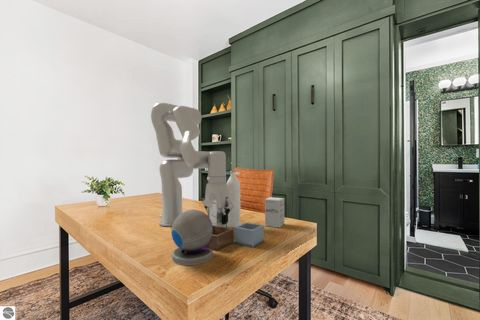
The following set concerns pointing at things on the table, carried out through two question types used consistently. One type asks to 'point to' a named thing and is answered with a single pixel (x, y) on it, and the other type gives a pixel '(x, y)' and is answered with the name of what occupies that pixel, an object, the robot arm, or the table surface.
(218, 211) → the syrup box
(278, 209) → the supplement box
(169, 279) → the table surface
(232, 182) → the water bottle
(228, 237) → the walnut box
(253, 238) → the blue-grey open box
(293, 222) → the table surface
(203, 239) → the webcam
